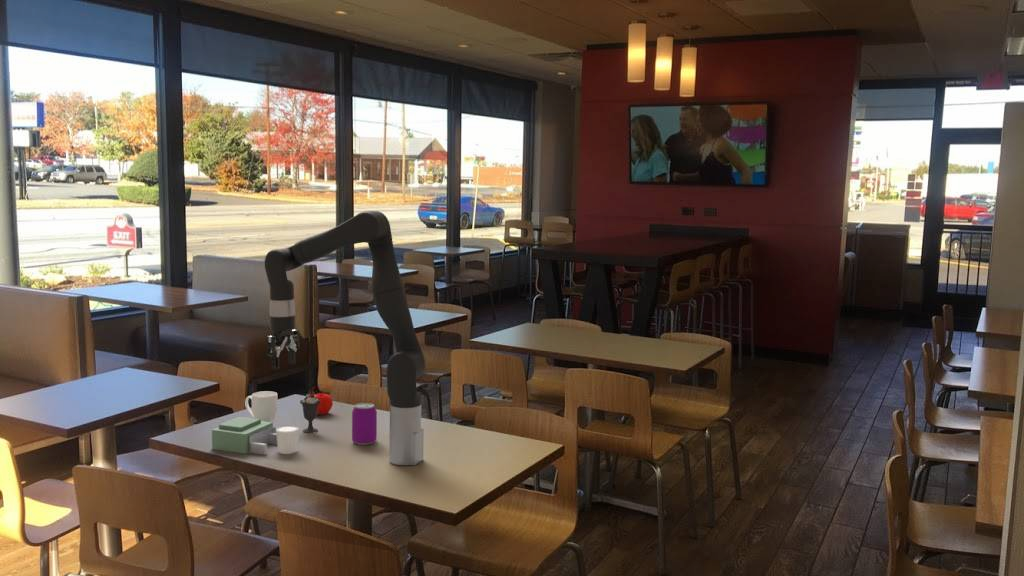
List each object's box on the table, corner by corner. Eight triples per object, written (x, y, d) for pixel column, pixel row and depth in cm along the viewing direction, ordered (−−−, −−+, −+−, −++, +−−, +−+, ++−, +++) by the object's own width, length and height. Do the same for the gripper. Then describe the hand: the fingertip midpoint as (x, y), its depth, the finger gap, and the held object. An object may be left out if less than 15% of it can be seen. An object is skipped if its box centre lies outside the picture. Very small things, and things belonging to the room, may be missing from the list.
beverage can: (367, 437, 270) (367, 401, 268) (381, 442, 264) (381, 405, 263) (347, 441, 264) (347, 404, 263) (361, 447, 259) (361, 409, 258)
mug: (283, 425, 280) (282, 392, 279) (266, 432, 272) (266, 398, 271) (254, 421, 285) (254, 388, 283) (237, 427, 277) (237, 393, 276)
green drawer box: (272, 440, 263) (272, 418, 262) (245, 453, 250) (245, 430, 249) (240, 436, 267) (240, 414, 266) (212, 448, 254) (211, 425, 253)
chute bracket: (286, 444, 260) (286, 428, 260) (264, 454, 249) (264, 438, 249) (270, 441, 262) (270, 426, 261) (248, 452, 251) (247, 436, 251)
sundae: (315, 434, 271) (315, 389, 269) (296, 432, 272) (296, 388, 271) (324, 429, 277) (324, 385, 276) (305, 427, 279) (305, 383, 277)
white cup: (287, 456, 249) (286, 433, 248) (271, 451, 252) (270, 429, 252) (304, 450, 255) (304, 428, 254) (288, 446, 258) (288, 424, 257)
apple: (306, 415, 293) (306, 395, 292) (315, 410, 301) (315, 390, 300) (327, 417, 292) (327, 396, 291) (336, 411, 299) (336, 391, 299)
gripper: (279, 317, 246) (280, 371, 247) (306, 311, 259) (307, 362, 261) (257, 316, 248) (259, 370, 250) (285, 310, 261) (286, 361, 263)
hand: (283, 366), depth 255 cm, fingers open, 8 cm apart
